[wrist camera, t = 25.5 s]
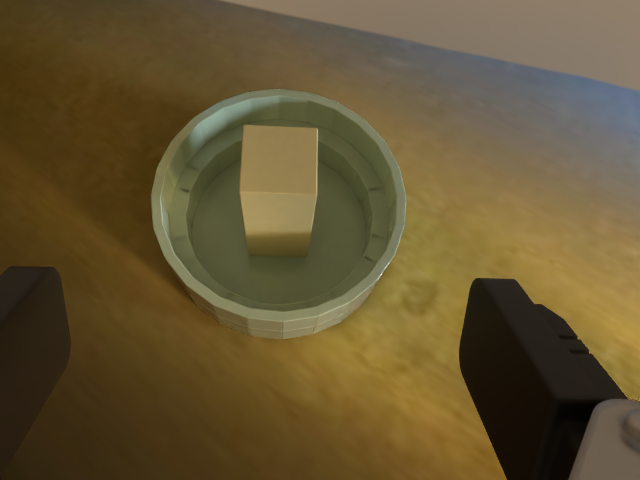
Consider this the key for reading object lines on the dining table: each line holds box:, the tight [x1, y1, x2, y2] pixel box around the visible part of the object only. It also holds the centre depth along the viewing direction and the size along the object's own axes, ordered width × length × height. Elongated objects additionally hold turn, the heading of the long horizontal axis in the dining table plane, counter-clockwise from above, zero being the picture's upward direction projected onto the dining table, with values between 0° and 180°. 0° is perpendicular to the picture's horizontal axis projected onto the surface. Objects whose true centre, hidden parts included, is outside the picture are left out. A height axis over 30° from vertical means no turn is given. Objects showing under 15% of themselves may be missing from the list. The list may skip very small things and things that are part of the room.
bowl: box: [151, 89, 406, 339], centre depth 36 cm, size 15×15×6 cm
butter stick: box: [239, 125, 318, 257], centre depth 34 cm, size 4×4×10 cm
